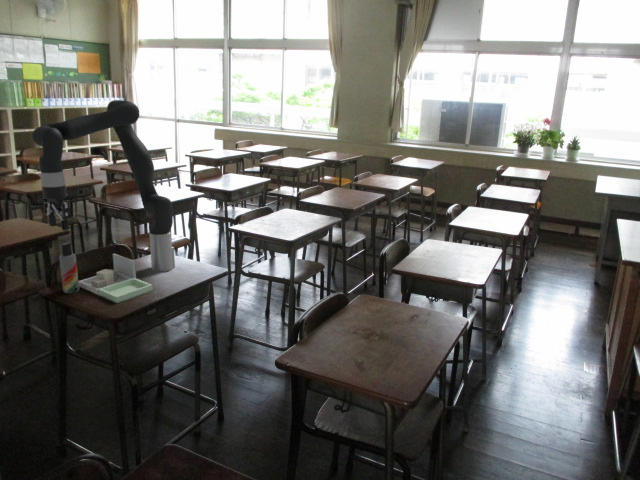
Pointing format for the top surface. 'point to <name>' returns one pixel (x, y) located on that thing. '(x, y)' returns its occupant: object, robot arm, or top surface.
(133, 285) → the green bin
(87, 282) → the grey bin
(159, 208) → the robot arm
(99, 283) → the pale grey block
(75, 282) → the lotion bottle
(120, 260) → the grey drawer face panel
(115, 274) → the grey cubic sharp-edged block
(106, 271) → the beige block
